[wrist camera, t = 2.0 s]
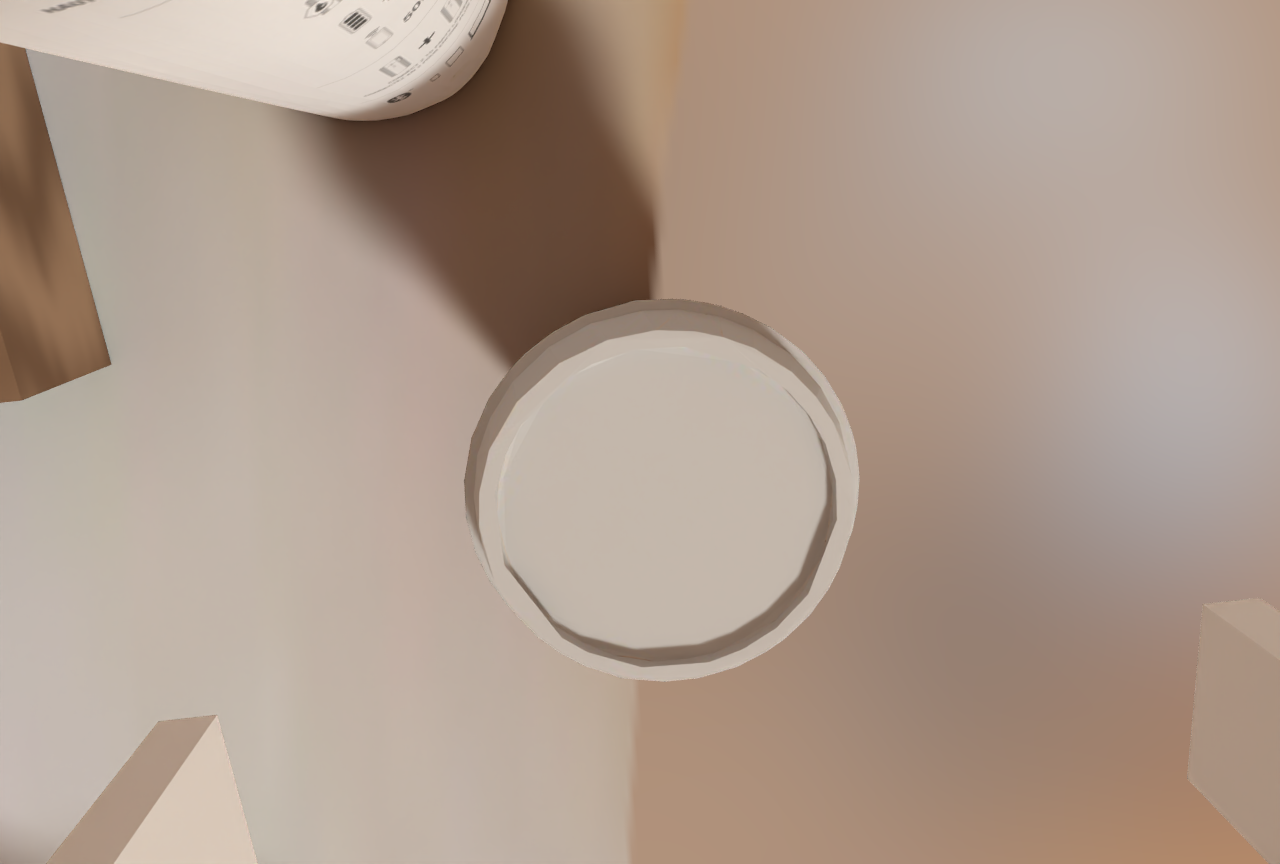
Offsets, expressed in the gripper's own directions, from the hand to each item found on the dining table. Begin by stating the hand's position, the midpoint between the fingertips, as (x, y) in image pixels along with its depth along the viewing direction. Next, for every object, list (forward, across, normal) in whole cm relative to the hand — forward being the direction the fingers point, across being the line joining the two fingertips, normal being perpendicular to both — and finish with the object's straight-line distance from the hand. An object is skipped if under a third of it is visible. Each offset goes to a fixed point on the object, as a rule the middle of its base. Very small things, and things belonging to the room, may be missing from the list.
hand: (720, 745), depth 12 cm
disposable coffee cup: (+21, 0, 0) cm, 21 cm away
